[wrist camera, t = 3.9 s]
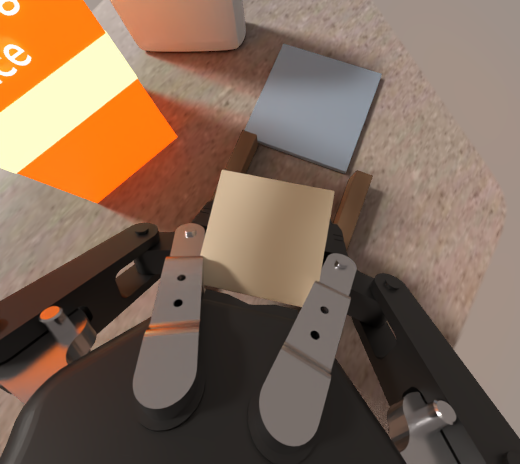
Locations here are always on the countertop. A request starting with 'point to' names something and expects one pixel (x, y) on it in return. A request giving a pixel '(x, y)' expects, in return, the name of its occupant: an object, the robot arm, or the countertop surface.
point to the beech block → (266, 237)
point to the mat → (313, 107)
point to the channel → (350, 199)
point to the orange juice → (71, 101)
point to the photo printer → (183, 24)
